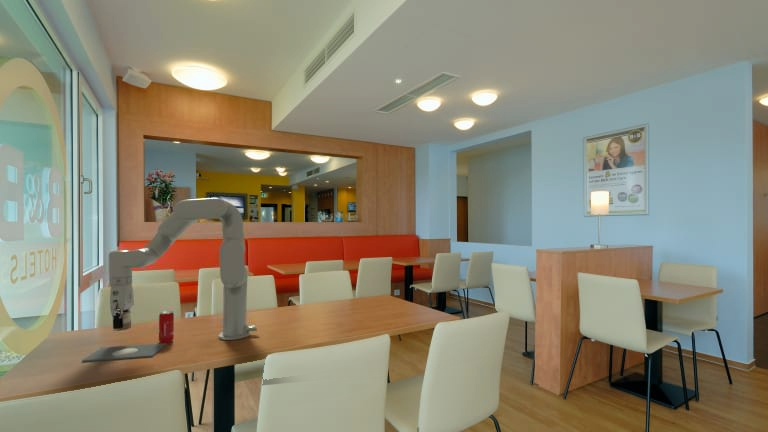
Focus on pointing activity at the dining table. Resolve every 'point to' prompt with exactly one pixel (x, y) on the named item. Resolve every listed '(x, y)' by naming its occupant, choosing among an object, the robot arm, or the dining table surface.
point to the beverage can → (166, 327)
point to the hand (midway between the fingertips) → (122, 325)
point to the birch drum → (125, 321)
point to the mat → (124, 352)
